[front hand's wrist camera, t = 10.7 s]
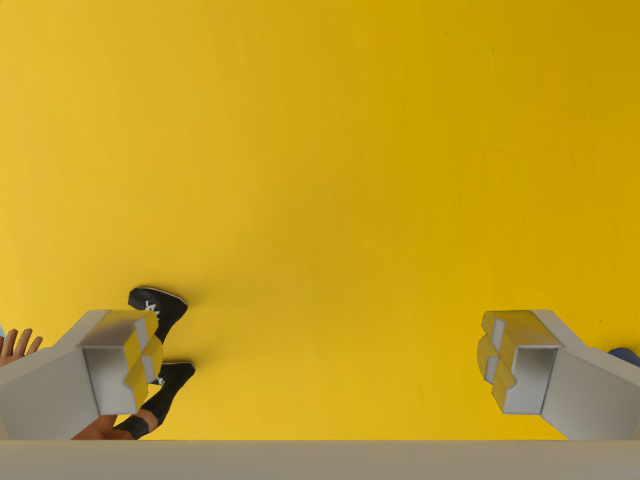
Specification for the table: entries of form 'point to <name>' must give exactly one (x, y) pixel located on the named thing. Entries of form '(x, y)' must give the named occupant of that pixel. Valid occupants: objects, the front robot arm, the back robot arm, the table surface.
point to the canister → (626, 356)
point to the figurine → (169, 376)
